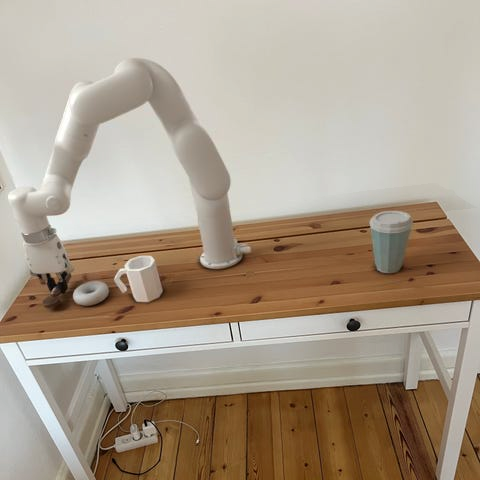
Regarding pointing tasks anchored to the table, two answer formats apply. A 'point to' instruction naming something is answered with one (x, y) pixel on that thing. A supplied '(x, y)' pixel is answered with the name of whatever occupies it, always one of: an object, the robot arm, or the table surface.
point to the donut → (90, 293)
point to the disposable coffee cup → (390, 239)
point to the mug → (141, 278)
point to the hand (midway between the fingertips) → (59, 291)
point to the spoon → (55, 295)
